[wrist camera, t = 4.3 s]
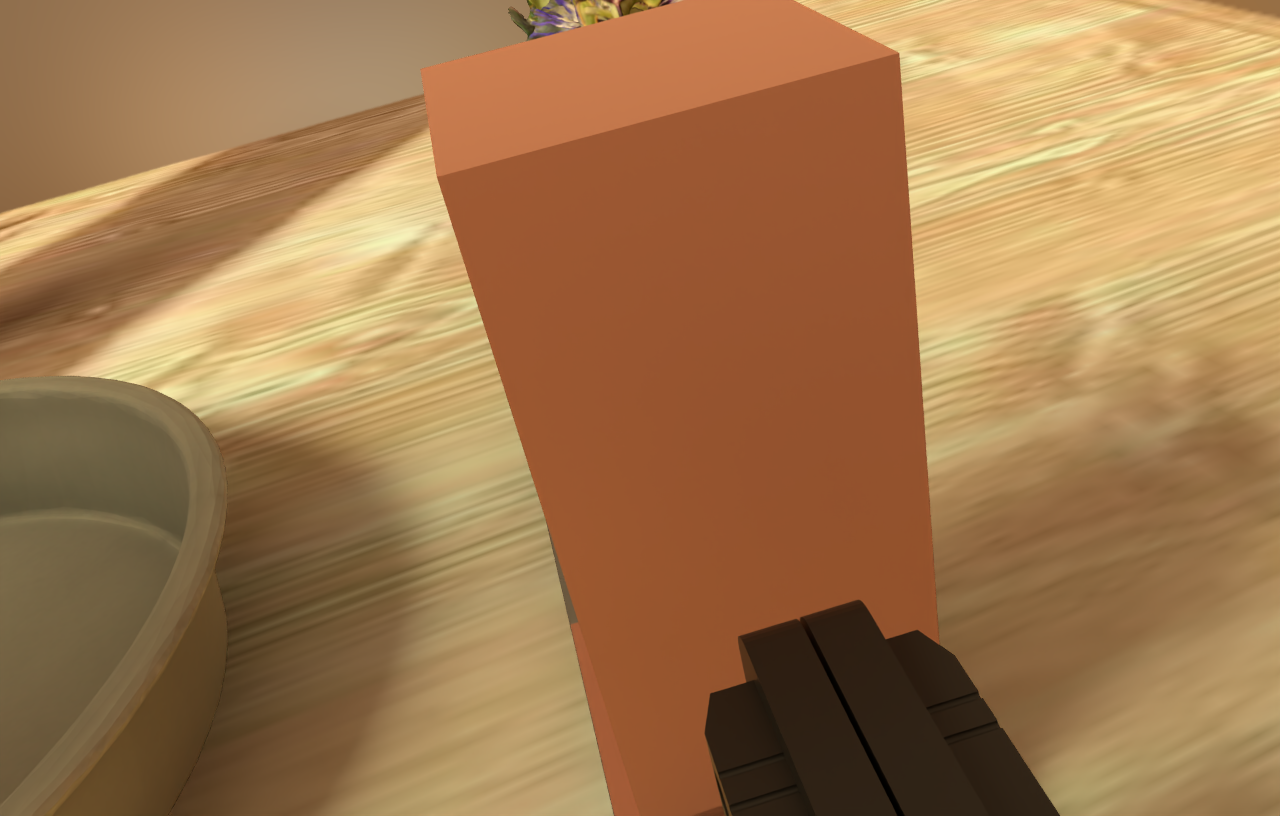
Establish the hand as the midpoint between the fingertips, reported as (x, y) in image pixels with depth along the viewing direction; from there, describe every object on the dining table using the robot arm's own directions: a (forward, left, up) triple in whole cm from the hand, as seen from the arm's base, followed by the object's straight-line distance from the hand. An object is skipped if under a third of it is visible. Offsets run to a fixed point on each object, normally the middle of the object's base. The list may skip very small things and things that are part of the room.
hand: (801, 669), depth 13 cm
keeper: (0, +4, -6) cm, 7 cm away
